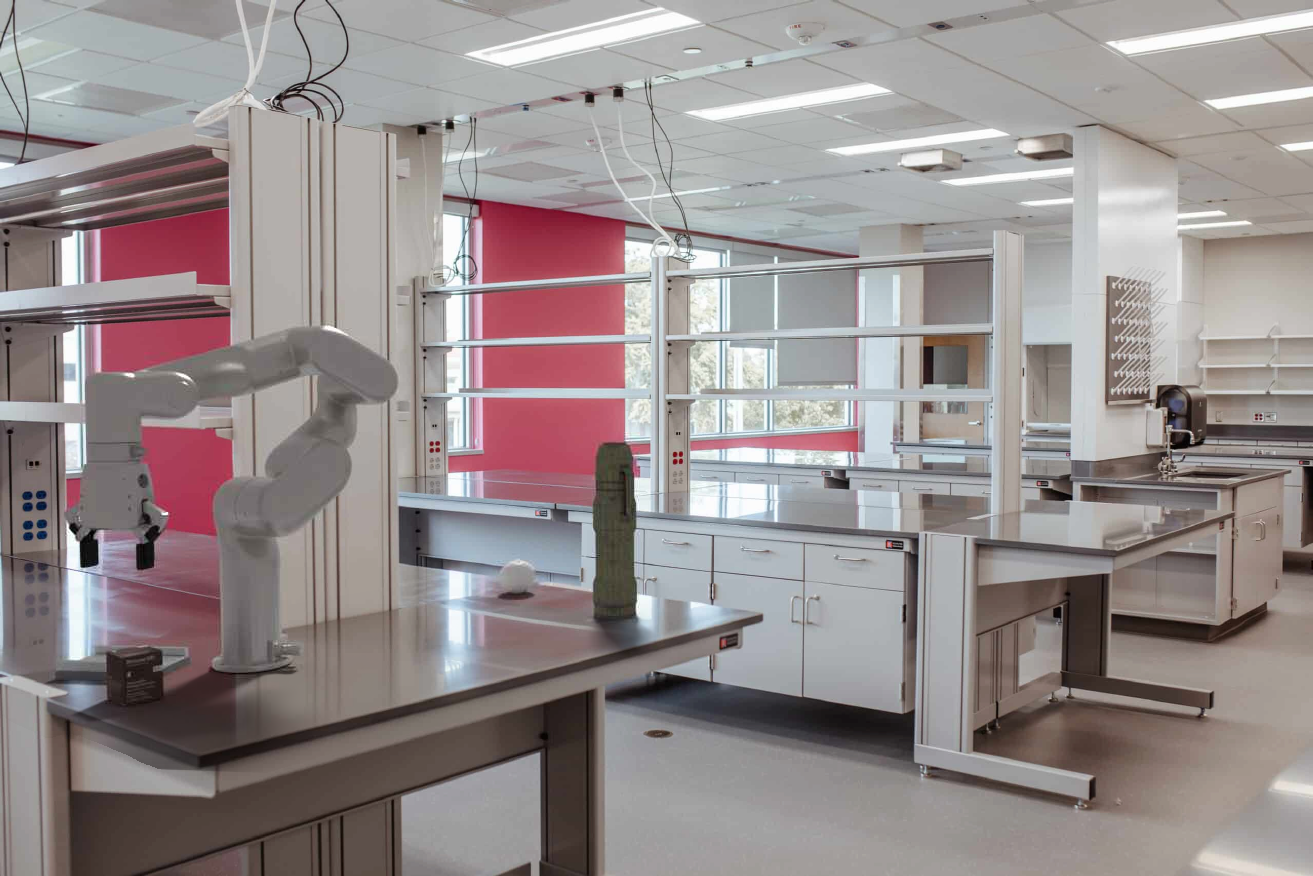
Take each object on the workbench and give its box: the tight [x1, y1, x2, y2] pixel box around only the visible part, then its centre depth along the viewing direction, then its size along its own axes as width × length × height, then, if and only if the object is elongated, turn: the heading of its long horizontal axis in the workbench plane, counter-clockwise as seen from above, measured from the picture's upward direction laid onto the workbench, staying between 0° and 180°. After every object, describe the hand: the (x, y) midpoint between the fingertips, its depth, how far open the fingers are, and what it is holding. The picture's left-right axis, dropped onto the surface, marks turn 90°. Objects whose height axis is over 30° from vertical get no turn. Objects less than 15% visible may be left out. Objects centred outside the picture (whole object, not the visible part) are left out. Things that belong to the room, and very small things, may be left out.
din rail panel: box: [54, 644, 191, 682], centre depth 181 cm, size 16×12×3 cm
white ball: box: [499, 559, 536, 595], centre depth 247 cm, size 8×8×8 cm
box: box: [106, 644, 165, 707], centre depth 164 cm, size 6×6×7 cm
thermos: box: [592, 441, 638, 620], centre depth 223 cm, size 9×12×35 cm
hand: (117, 567), depth 166 cm, fingers open, 9 cm apart
